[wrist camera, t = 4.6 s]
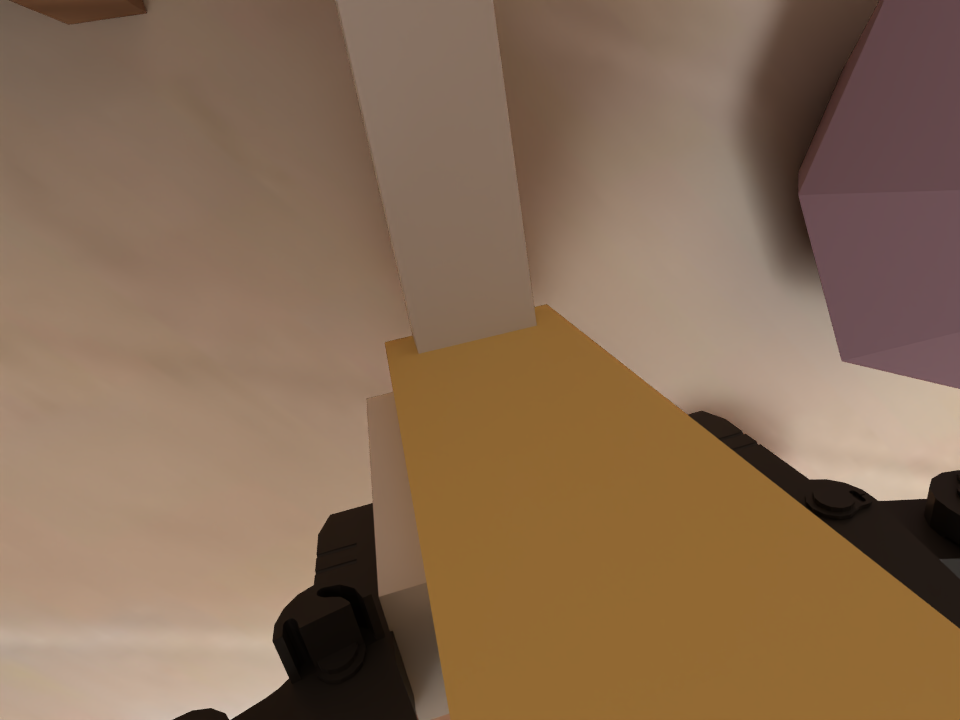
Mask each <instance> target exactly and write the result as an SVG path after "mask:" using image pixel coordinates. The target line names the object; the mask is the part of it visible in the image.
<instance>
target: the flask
mask: <svg viewBox="0 0 960 720" xmlns="http://www.w3.org/2000/svg"><path fill="white" fill-rule="evenodd" d="M798 196H799V200H800V204H801V208H802V212H803V215H804V219H805V223H806V227H807V231H808V235H809V238H810V242H811V246H812V250H813V254H814V257H815V261H816V265H817V269H818V273H819V276H820V280H821V284H822V288H823V292H824V295H825V299H826V303H827V307H828V311H829V315H830V318H831V322H832V326H833V330H834V334H835V337H836V341H837V345H838V349H839V353H840V356H841V360H842V361H843V362H848V363H852V364H856V365H860V366H865V367H869V368H873V369H877V370H882V371H886V372H890V373H894V374H899V375H903V376H907V377H911V378H916V379H920V380H924V381H929V382H933V383H937V384H941V385H946V386H950V387H954V388H958V389H960V0H880V1H879V2H878V4H877V6H876V8H875V10H874V12H873V14H872V16H871V17H870V19H869V21H868V23H867V25H866V27H865V29H864V31H863V33H862V34H861V36H860V38H859V40H858V42H857V44H856V46H855V48H854V49H853V51H852V53H851V55H850V57H849V59H848V61H847V63H846V65H845V66H844V68H843V71H842V73H841V75H840V78H839V80H838V82H837V84H836V87H835V89H834V91H833V94H832V96H831V98H830V100H829V103H828V105H827V107H826V110H825V112H824V114H823V116H822V119H821V121H820V123H819V126H818V128H817V130H816V132H815V135H814V137H813V139H812V142H811V144H810V146H809V148H808V151H807V153H806V155H805V158H804V160H803V162H802V164H801V167H800V169H799V171H798Z"/></svg>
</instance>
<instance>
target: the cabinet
mask: <svg viewBox="0 0 960 720" xmlns="http://www.w3.org/2000/svg"><path fill="white" fill-rule="evenodd" d="M9 1H12V2H14V3H17V4H19V5H22V6H24V7H27V8H29V9H32V10H34V11H37V12H39V13H42V14H44V15H47V16H49V17H51V18H54V19H56V20H59V21H61V22H64V23H66V24H76V23H83V22H89V21H96V20H103V19H110V18H117V17H124V16H130V15H137V14H144V13H147V12H146V9H145V7H144V4H143V1H142V0H9Z"/></svg>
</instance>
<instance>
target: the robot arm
mask: <svg viewBox="0 0 960 720" xmlns="http://www.w3.org/2000/svg"><path fill="white" fill-rule="evenodd" d="M366 400H367V416H368V432H369V449H370V465H371V481H372V497H373V503H371V504H368V505H364V506H361V507H357V508H353V509H350V510H346V511H342V512H339V513H335V514H332V515H330V516H329V518H328V519H327V521H326V523H325V524H324V526H323V528H322V529H321V531H320V533H319V534H318V545H317V558H316V568H315V572H316V575H315V580H314V585H313V586H311V587H310V588H308V589H307V590H305V591H303V592H302V593H300V594H298V595H297V596H296V597H295V598H294V599H293V600H292V601H291V602H290V603H289V604H288V605H287V606H286V607H285V608H284V609H283V611H282V613H281V614H280V616H279V618H278V620H277V622H276V623H275V625H274V633H273V643H274V645H275V648H276V650H277V652H278V654H279V656H280V659H281V661H282V663H283V665H284V667H285V670H286V672H287V674H288V676H289V679H288V680H287V681H286V682H285V683H284V684H283V685H282V686H281V687H280V688H279V689H278V690H276V691H275V692H273V693H272V694H271V695H269V696H268V697H267V698H265V699H264V700H262V701H260V702H259V703H257V704H256V705H254V706H252V707H251V708H249V709H247V710H246V711H244V712H243V713H241V714H239V715H238V716H236V717H235V718H233V719H231V720H417V717H416V713H417V716H418V719H419V720H431V719H434V718H437V717H440V716H443V715H446V714H449V708H448V703H447V697H446V691H445V686H444V680H443V674H442V668H441V663H440V657H439V651H438V645H437V640H436V634H435V628H434V622H433V617H432V611H431V605H430V599H429V594H428V588H427V582H426V577H425V571H424V565H423V559H422V554H421V548H420V542H419V536H418V531H417V525H416V519H415V513H414V508H413V502H412V496H411V490H410V485H409V479H408V473H407V468H406V462H405V456H404V450H403V445H402V439H401V433H400V427H399V422H398V416H397V410H396V404H395V399H394V393H393V392H391V393H387V394H383V395H379V396H375V397H371V398H367V399H366ZM688 416H690V417H691V418H692V419H693V420H695V421H696V422H697V423H699V424H700V425H701V426H702V427H704V428H705V429H706V430H707V431H709V432H710V433H711V434H713V435H714V436H715V437H716V438H718V439H719V440H720V441H721V442H723V443H724V444H725V445H727V446H728V447H729V448H730V449H732V450H733V451H734V452H735V453H737V454H738V455H739V456H741V457H742V458H743V459H744V460H746V461H747V462H748V463H749V464H751V465H752V466H753V467H755V468H756V469H757V470H758V471H760V472H761V473H762V474H763V475H765V476H766V477H767V478H769V479H770V480H771V481H772V482H774V483H775V484H776V485H777V486H779V487H780V488H781V489H783V490H784V491H785V492H786V493H788V494H789V495H790V496H791V497H793V498H794V499H795V500H797V501H798V502H799V503H800V504H802V505H803V506H804V507H805V508H807V509H808V510H809V511H811V512H812V513H813V514H814V515H816V516H817V517H818V518H819V519H821V520H822V521H823V522H825V523H826V524H827V525H828V526H830V527H831V528H832V529H833V530H835V531H836V532H837V533H839V534H840V535H841V536H842V537H844V538H845V539H846V540H847V541H849V542H850V543H851V544H853V545H854V546H855V547H856V548H858V549H859V550H860V551H861V552H863V553H864V554H865V555H867V556H868V557H869V558H870V559H872V560H873V561H874V562H875V563H877V564H878V565H879V566H881V567H882V568H883V569H884V570H886V571H887V572H888V573H889V574H891V575H892V576H893V577H895V578H896V579H897V580H898V581H900V582H901V583H902V584H903V585H905V586H906V587H907V588H909V589H910V590H911V591H912V592H914V593H915V594H916V595H917V596H919V597H920V598H921V599H923V600H924V601H925V602H926V603H928V604H929V605H930V606H931V607H933V608H934V609H935V610H937V611H938V612H939V613H940V614H942V615H943V616H944V617H945V618H947V619H948V620H949V621H951V622H952V623H953V624H954V625H956V626H957V627H958V628H959V629H960V470H957V471H951V472H944V473H941V474H939V475H937V476H936V477H934V478H932V480H931V484H930V487H929V492H928V497H927V499H916V500H895V501H877V500H876V499H875V498H873V497H872V496H871V495H869V494H868V493H866V492H865V491H863V490H862V489H859V488H857V487H854V486H852V485H849V484H847V483H843V482H837V481H832V480H827V479H824V480H809V479H808V478H806V477H805V476H804V475H802V474H801V473H799V472H798V471H797V470H795V469H794V468H793V467H791V466H790V465H788V464H787V463H786V462H784V461H783V460H781V459H780V458H779V457H777V456H776V455H774V454H773V453H772V452H770V451H769V450H767V449H766V448H765V447H763V446H762V445H761V444H760V445H758V444H757V442H756V441H755V440H754V439H752V438H751V437H749V436H748V435H747V434H743V432H742V431H741V430H740V429H738V428H737V427H736V426H734V425H733V424H731V423H730V422H729V421H727V420H726V419H723V418H721V417H718V416H715V415H712V414H709V413H707V412H704V411H699V412H696V413H692V414H689V415H688ZM173 720H229V719H228V717H227V715H226V714H225V713H223V712H220V711H217V710H215V709H212V708H209V709H201V710H193V711H190V712H188V713H186V714H184V715H182V716H180V717H177V718H175V719H173Z"/></svg>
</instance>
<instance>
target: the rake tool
mask: <svg viewBox="0 0 960 720" xmlns="http://www.w3.org/2000/svg"><path fill="white" fill-rule="evenodd" d="M335 4H336V8H337V13H338V17H339V21H340V26H341V30H342V34H343V38H344V43H345V47H346V51H347V56H348V60H349V64H350V68H351V73H352V77H353V81H354V86H355V90H356V94H357V99H358V103H359V107H360V111H361V116H362V120H363V124H364V129H365V133H366V137H367V142H368V146H369V150H370V154H371V159H372V163H373V167H374V172H375V176H376V180H377V185H378V189H379V193H380V197H381V202H382V206H383V210H384V215H385V219H386V223H387V228H388V232H389V236H390V240H391V245H392V249H393V253H394V258H395V262H396V266H397V271H398V275H399V279H400V283H401V288H402V292H403V296H404V301H405V305H406V309H407V314H408V318H409V322H410V326H411V331H412V335H413V336H409V337H405V338H401V339H396V340H392V341H388V342H385V347H386V353H387V359H388V364H389V370H390V376H391V381H392V387H393V393H394V399H395V404H396V410H397V416H398V422H399V427H400V433H401V439H402V445H403V450H404V456H405V462H406V468H407V473H408V479H409V485H410V490H411V496H412V502H413V508H414V513H415V519H416V525H417V531H418V536H419V542H420V548H421V554H422V559H423V565H424V571H425V577H426V582H427V588H428V594H429V599H430V605H431V611H432V617H433V622H434V628H435V634H436V640H437V645H438V651H439V657H440V663H441V668H442V674H443V680H444V686H445V691H446V697H447V703H448V708H449V714H450V720H960V629H959V628H958V627H957V626H956V625H954V624H953V623H952V622H951V621H949V620H948V619H947V618H945V617H944V616H943V615H942V614H940V613H939V612H938V611H937V610H935V609H934V608H933V607H931V606H930V605H929V604H928V603H926V602H925V601H924V600H923V599H921V598H920V597H919V596H917V595H916V594H915V593H914V592H912V591H911V590H910V589H909V588H907V587H906V586H905V585H903V584H902V583H901V582H900V581H898V580H897V579H896V578H895V577H893V576H892V575H891V574H889V573H888V572H887V571H886V570H884V569H883V568H882V567H881V566H879V565H878V564H877V563H875V562H874V561H873V560H872V559H870V558H869V557H868V556H867V555H865V554H864V553H863V552H861V551H860V550H859V549H858V548H856V547H855V546H854V545H853V544H851V543H850V542H849V541H847V540H846V539H845V538H844V537H842V536H841V535H840V534H839V533H837V532H836V531H835V530H833V529H832V528H831V527H830V526H828V525H827V524H826V523H825V522H823V521H822V520H821V519H819V518H818V517H817V516H816V515H814V514H813V513H812V512H811V511H809V510H808V509H807V508H805V507H804V506H803V505H802V504H800V503H799V502H798V501H797V500H795V499H794V498H793V497H791V496H790V495H789V494H788V493H786V492H785V491H784V490H783V489H781V488H780V487H779V486H777V485H776V484H775V483H774V482H772V481H771V480H770V479H769V478H767V477H766V476H765V475H763V474H762V473H761V472H760V471H758V470H757V469H756V468H755V467H753V466H752V465H751V464H749V463H748V462H747V461H746V460H744V459H743V458H742V457H741V456H739V455H738V454H737V453H735V452H734V451H733V450H732V449H730V448H729V447H728V446H727V445H725V444H724V443H723V442H721V441H720V440H719V439H718V438H716V437H715V436H714V435H713V434H711V433H710V432H709V431H707V430H706V429H705V428H704V427H702V426H701V425H700V424H699V423H697V422H696V421H695V420H693V419H692V418H691V417H690V416H688V415H687V414H686V413H685V412H683V411H682V410H681V409H679V408H678V407H677V406H676V405H674V404H673V403H672V402H671V401H669V400H668V399H667V398H665V397H664V396H663V395H662V394H660V393H659V392H658V391H657V390H655V389H654V388H653V387H651V386H650V385H649V384H648V383H646V382H645V381H644V380H643V379H641V378H640V377H639V376H637V375H636V374H635V373H634V372H632V371H631V370H630V369H629V368H627V367H626V366H625V365H623V364H622V363H621V362H620V361H618V360H617V359H616V358H615V357H613V356H612V355H611V354H609V353H608V352H607V351H606V350H604V349H603V348H602V347H601V346H599V345H598V344H597V343H595V342H594V341H593V340H592V339H590V338H589V337H588V336H587V335H585V334H584V333H583V332H581V331H580V330H579V329H578V328H576V327H575V326H574V325H573V324H571V323H570V322H569V321H567V320H566V319H565V318H564V317H562V316H561V315H560V314H559V313H557V312H556V311H555V310H553V309H552V308H551V307H550V306H548V305H547V304H546V305H541V306H537V307H534V301H533V294H532V286H531V279H530V271H529V264H528V256H527V249H526V241H525V234H524V226H523V219H522V212H521V204H520V197H519V189H518V182H517V174H516V167H515V159H514V152H513V144H512V137H511V130H510V122H509V115H508V107H507V100H506V92H505V85H504V77H503V70H502V62H501V55H500V48H499V40H498V33H497V25H496V18H495V10H494V3H493V0H335Z"/></svg>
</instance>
